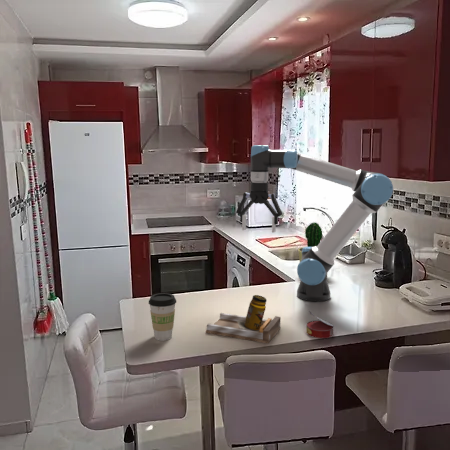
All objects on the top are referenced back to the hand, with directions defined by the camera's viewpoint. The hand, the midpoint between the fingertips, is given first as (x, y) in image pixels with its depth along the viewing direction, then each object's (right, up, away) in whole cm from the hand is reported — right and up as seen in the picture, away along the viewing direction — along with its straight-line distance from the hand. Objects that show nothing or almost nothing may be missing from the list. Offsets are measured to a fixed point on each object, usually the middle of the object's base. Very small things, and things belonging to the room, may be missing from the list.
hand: (258, 230), depth 195 cm
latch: (0, -36, -31) cm, 48 cm away
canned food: (+20, -37, -29) cm, 52 cm away
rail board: (-8, -37, -28) cm, 47 cm away
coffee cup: (-37, -38, -34) cm, 63 cm away
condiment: (-6, -35, -29) cm, 46 cm away
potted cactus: (+32, -25, +43) cm, 59 cm away
